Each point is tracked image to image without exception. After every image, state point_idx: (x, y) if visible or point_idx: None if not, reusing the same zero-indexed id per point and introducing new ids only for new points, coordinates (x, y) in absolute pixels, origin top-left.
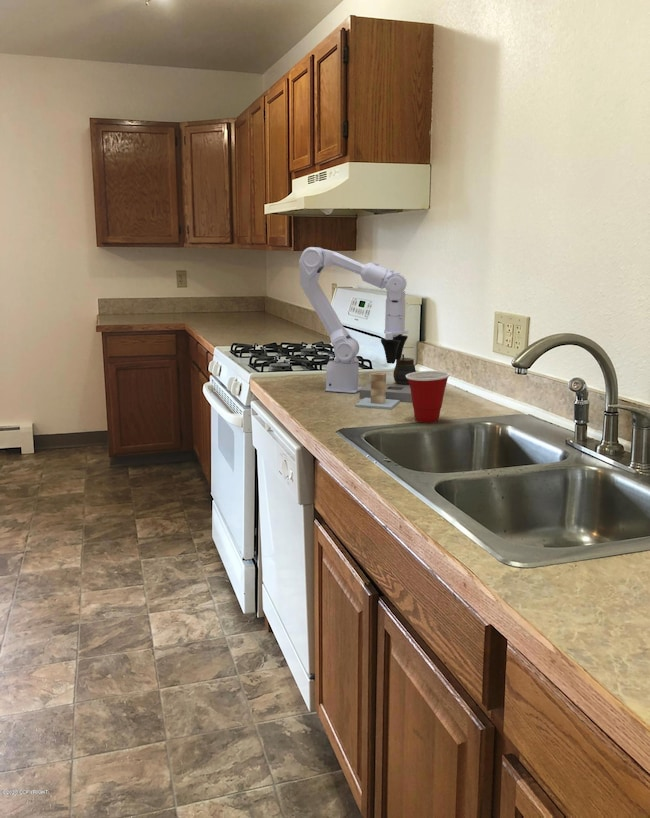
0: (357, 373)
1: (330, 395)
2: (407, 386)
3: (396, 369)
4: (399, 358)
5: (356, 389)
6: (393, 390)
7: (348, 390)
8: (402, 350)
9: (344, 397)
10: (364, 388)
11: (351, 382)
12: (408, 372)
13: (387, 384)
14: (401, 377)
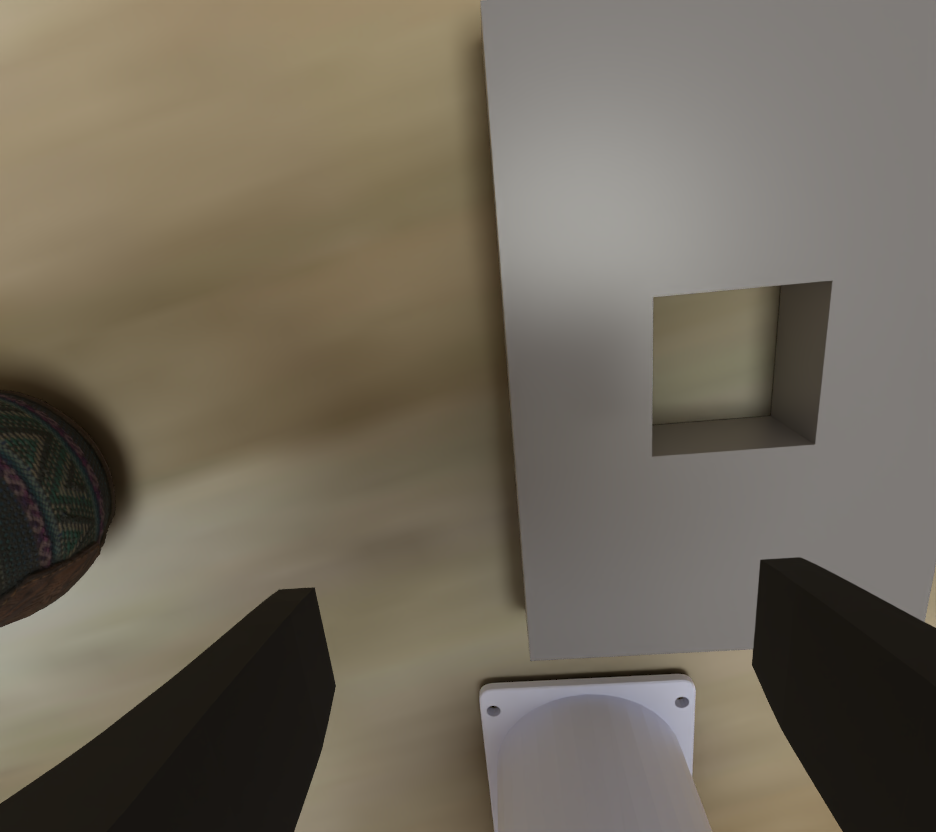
0: (632, 830)
1: (806, 783)
2: (580, 280)
3: (24, 604)
4: (305, 609)
5: (611, 698)
6: (872, 349)
7: (672, 732)
8: (145, 701)
9: None
10: None
11: (680, 778)
12: (4, 460)
13: (552, 505)
14: (94, 500)
